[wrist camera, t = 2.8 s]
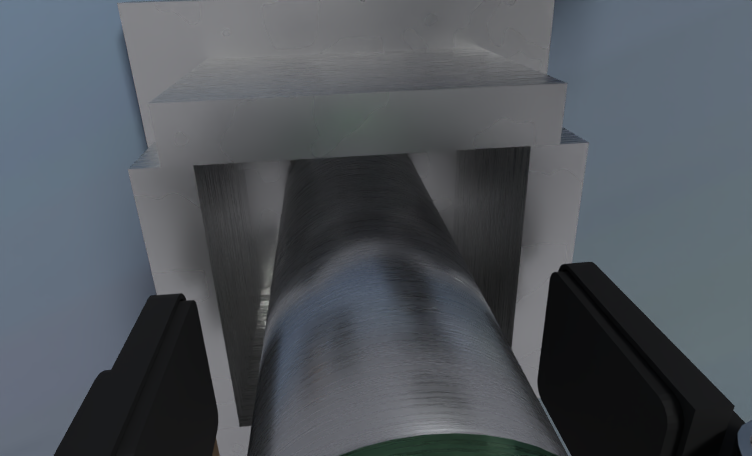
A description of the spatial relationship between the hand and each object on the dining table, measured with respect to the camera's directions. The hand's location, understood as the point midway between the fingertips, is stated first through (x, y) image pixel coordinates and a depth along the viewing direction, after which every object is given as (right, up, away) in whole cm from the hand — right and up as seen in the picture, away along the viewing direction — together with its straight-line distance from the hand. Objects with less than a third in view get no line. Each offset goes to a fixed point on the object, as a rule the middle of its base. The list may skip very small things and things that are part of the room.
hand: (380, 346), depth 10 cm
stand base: (-1, +4, +8) cm, 9 cm away
